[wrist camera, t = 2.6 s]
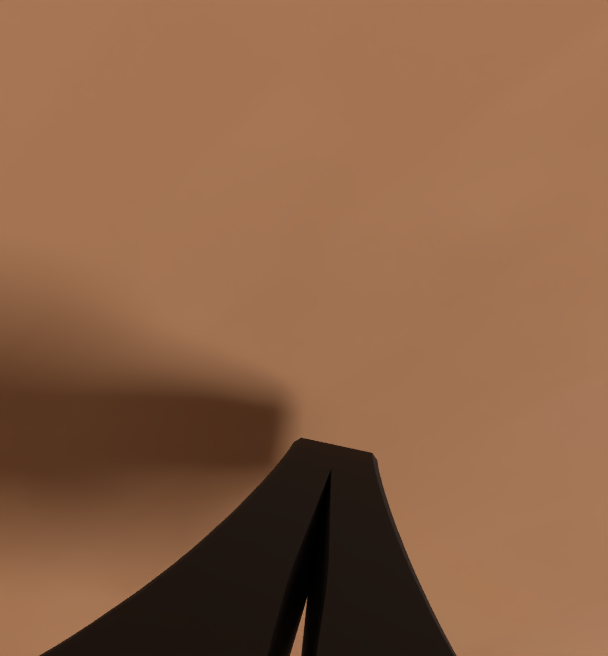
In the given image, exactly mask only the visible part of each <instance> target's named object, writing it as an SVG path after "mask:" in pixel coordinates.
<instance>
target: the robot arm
mask: <svg viewBox="0 0 608 656" xmlns="http://www.w3.org/2000/svg"><path fill="white" fill-rule="evenodd" d="M307 596H308V597H307ZM306 599H307V606H306V616H305V626H304V635H303V645H302V655H301V656H456V654H455V652H454V650H453V649H452V647H451V645H450V643H449V641H448V639H447V638H446V636H445V634H444V632H443V630H442V628H441V626H440V624H439V622H438V620H437V618H436V616H435V614H434V612H433V610H432V608H431V606H430V604H429V602H428V600H427V598H426V595H425V593H424V591H423V589H422V587H421V585H420V583H419V581H418V578H417V576H416V574H415V572H414V569H413V567H412V565H411V562H410V560H409V558H408V555H407V553H406V550H405V548H404V545H403V543H402V540H401V537H400V535H399V532H398V530H397V527H396V525H395V522H394V519H393V516H392V514H391V511H390V508H389V504H388V501H387V498H386V495H385V492H384V488H383V485H382V481H381V477H380V473H379V468H378V462H377V459H376V458H375V456H374V455H373V454H372V453H370V452H365V451H360V450H356V449H351V448H346V447H342V446H337V445H332V444H328V443H323V442H318V441H314V440H309V439H304V438H300V439H298V440H297V441H295V442H294V443H293V444H292V446H291V447H290V449H289V450H288V452H287V453H286V454H285V456H284V457H283V458H282V459H281V461H280V462H279V463H278V464H277V466H276V467H275V468H274V469H273V470H272V471H271V472H270V474H269V475H268V476H267V477H266V478H265V479H264V480H263V482H262V483H261V484H260V485H259V486H258V487H257V488H256V489H255V490H254V491H253V492H252V493H251V494H250V495H249V496H248V497H247V498H246V499H245V500H244V501H243V502H242V503H241V504H240V505H239V506H238V507H237V508H236V509H235V510H234V511H233V512H232V513H231V514H230V515H229V516H228V517H227V518H226V519H225V520H224V521H223V522H221V523H220V524H219V525H218V526H217V527H216V528H215V529H214V530H213V531H212V532H210V533H209V534H208V535H207V536H206V537H205V538H204V539H203V540H202V541H200V542H199V543H198V544H197V545H196V546H195V547H194V548H192V549H191V550H190V551H189V552H188V553H186V554H185V555H184V556H183V557H182V558H180V559H179V560H178V561H177V562H175V563H174V564H173V565H172V566H170V567H169V568H168V569H167V570H165V571H164V572H163V573H161V574H160V575H159V576H157V577H156V578H155V579H153V580H152V581H151V582H149V583H148V584H147V585H146V586H144V587H143V588H142V589H140V590H139V591H137V592H136V593H135V594H133V595H132V596H130V597H129V598H127V599H126V600H125V601H123V602H122V603H120V604H119V605H117V606H116V607H114V608H113V609H111V610H110V611H109V612H107V613H106V614H104V615H103V616H101V617H100V618H98V619H97V620H95V621H94V622H93V623H91V624H90V625H88V626H86V627H85V628H83V629H82V630H80V631H79V632H77V633H76V634H74V635H73V636H71V637H69V638H68V639H66V640H65V641H63V642H61V643H60V644H58V645H57V646H55V647H53V648H52V649H50V650H48V651H47V652H45V653H43V654H41V655H40V656H290V653H291V650H292V647H293V643H294V640H295V636H296V633H297V630H298V626H299V623H300V620H301V616H302V613H303V610H304V606H305V603H306Z"/></svg>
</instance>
